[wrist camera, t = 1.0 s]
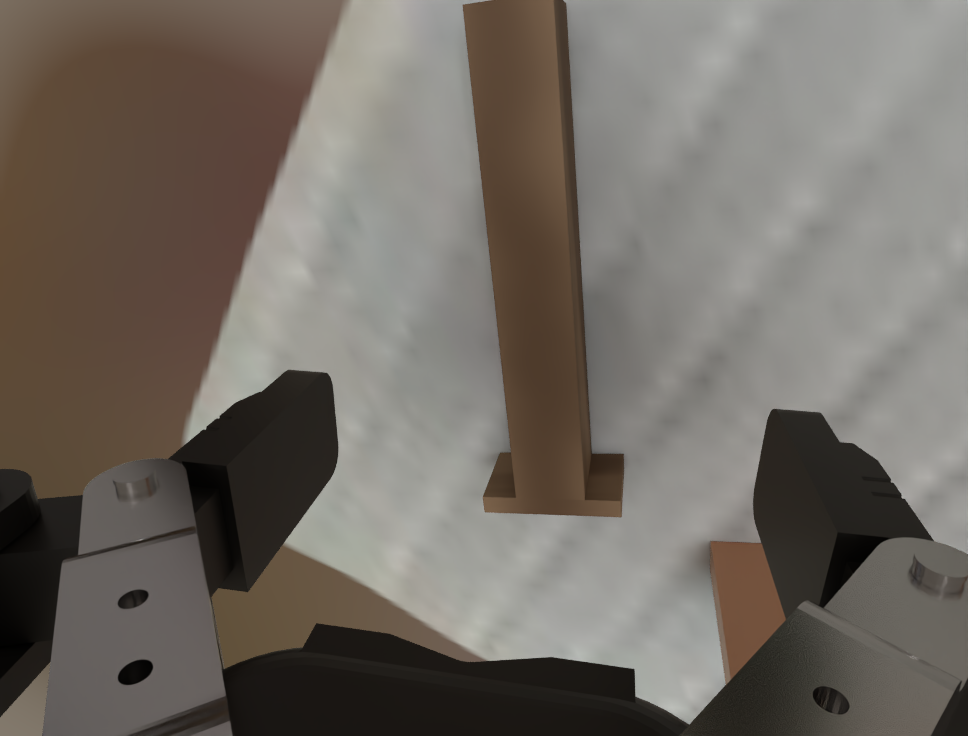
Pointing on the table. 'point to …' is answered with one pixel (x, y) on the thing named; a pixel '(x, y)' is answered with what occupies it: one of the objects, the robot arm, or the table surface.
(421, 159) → the table surface
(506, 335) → the wooden post on base
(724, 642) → the tile
